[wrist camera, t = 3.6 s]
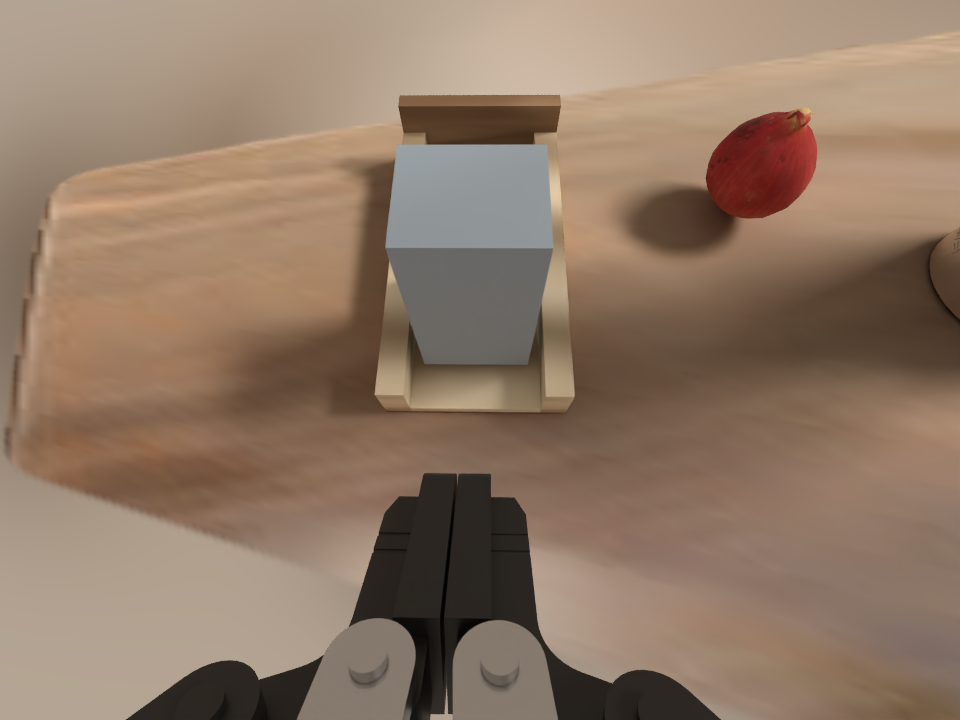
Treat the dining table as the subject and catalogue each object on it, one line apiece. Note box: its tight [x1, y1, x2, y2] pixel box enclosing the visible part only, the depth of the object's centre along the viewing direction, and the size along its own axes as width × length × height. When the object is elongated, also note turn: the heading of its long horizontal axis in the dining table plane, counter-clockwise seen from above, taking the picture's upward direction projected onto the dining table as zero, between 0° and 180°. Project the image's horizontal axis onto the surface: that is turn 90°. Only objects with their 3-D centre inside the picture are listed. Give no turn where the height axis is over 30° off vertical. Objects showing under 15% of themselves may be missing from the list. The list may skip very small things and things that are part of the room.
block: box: [385, 145, 553, 365], centre depth 22 cm, size 5×6×11 cm
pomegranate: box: [706, 108, 817, 218], centre depth 28 cm, size 6×6×8 cm
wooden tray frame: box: [375, 95, 575, 413], centre depth 28 cm, size 20×10×5 cm, turn 179°
